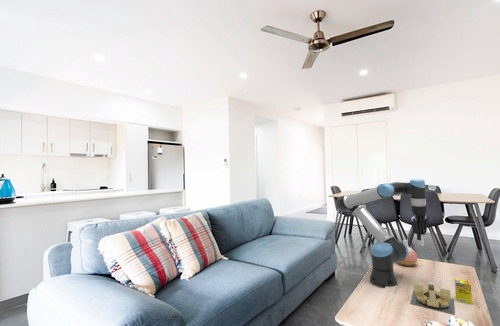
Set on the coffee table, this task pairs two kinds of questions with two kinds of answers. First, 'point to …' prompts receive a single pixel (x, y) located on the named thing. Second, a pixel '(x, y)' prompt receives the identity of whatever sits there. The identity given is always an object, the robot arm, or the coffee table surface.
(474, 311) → the coffee table surface
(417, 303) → the flange plate
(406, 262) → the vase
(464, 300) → the supplement box
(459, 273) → the coffee table surface
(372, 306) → the coffee table surface
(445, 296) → the ring nut
